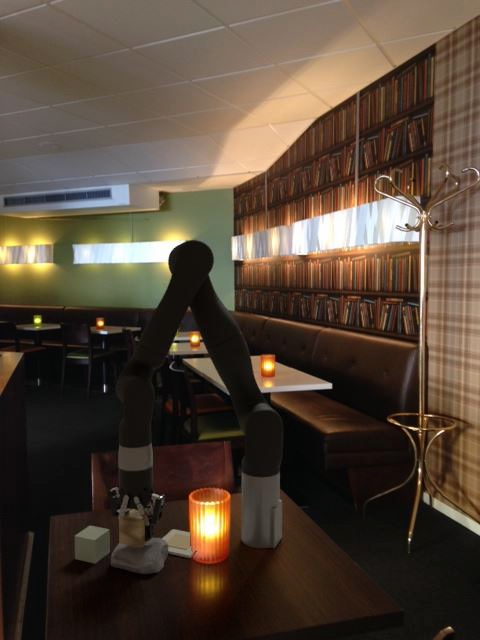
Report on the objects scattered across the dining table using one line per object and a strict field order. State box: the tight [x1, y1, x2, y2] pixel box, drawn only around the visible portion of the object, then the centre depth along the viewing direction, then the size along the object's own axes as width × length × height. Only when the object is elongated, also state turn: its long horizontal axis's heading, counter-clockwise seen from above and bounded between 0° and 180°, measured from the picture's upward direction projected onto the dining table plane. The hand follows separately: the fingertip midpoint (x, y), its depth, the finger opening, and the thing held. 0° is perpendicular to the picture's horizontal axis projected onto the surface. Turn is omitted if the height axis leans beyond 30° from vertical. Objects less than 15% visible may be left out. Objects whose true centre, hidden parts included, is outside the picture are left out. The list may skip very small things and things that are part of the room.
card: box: [161, 528, 195, 559], centre depth 126 cm, size 10×10×1 cm
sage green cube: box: [74, 525, 111, 564], centre depth 121 cm, size 6×6×6 cm
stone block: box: [110, 537, 169, 575], centre depth 118 cm, size 12×5×10 cm
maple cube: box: [118, 509, 155, 548], centre depth 118 cm, size 6×6×6 cm
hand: (136, 537), depth 118 cm, fingers closed on maple cube, 5 cm apart
